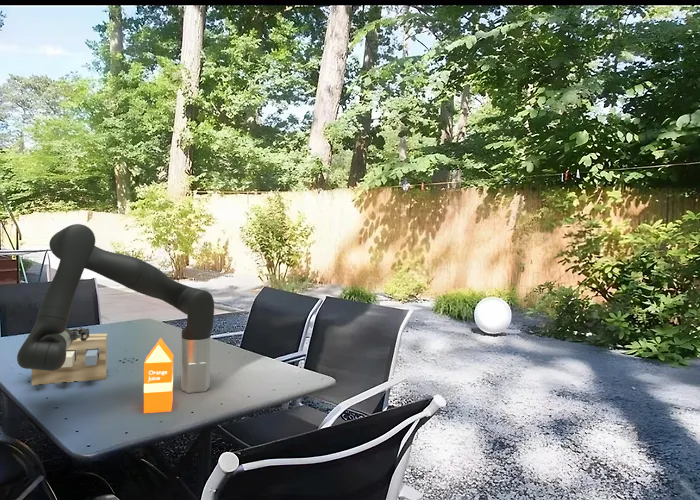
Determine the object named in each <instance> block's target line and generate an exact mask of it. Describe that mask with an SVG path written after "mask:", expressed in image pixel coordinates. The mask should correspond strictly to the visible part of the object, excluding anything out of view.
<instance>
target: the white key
mask: <svg viewBox="0 0 700 500" xmlns="http://www.w3.org/2000/svg"><path fill="white" fill-rule="evenodd" d="M75 359H76V350H66V359H65V362H64V364H63V366H62V367H72V366H73V364H74V361H75Z"/></svg>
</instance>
